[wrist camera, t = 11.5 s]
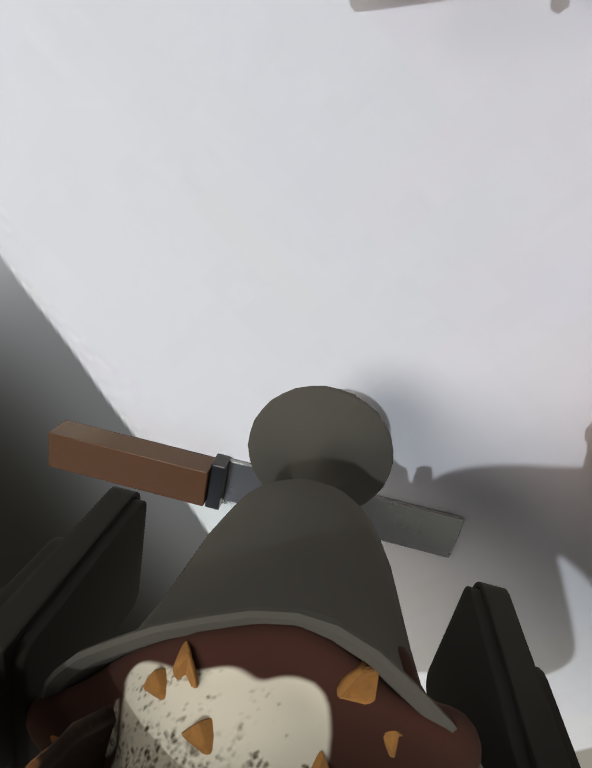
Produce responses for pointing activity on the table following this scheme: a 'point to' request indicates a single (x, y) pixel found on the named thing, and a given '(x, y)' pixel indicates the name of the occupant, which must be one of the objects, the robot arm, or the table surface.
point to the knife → (222, 482)
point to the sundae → (268, 629)
